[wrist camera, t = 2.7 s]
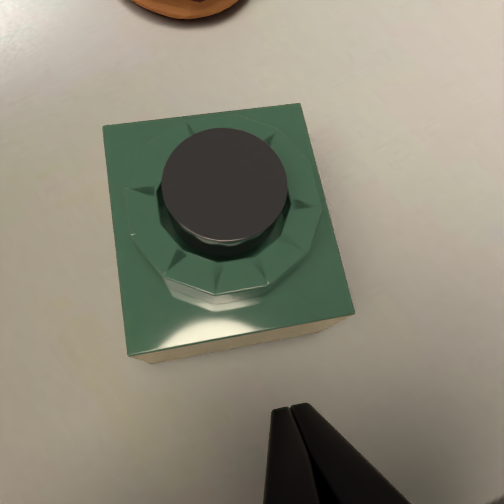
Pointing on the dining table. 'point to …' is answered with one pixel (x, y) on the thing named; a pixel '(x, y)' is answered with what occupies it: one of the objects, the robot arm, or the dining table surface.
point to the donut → (185, 7)
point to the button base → (220, 267)
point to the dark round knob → (224, 191)
